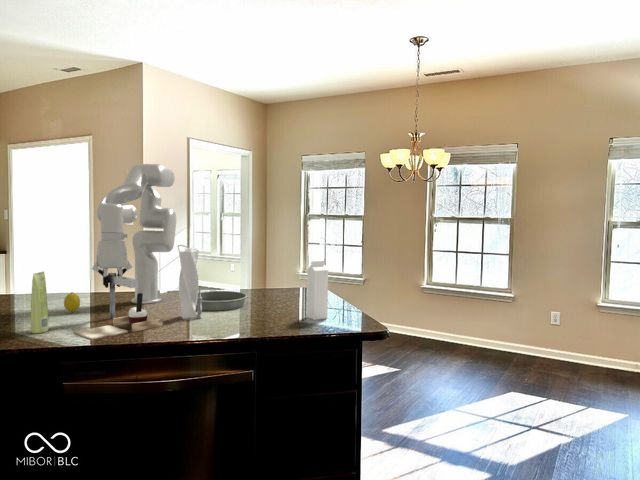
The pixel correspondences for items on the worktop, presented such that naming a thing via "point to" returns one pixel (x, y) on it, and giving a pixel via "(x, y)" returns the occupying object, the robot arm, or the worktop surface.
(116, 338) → the worktop surface
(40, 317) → the tube
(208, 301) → the cake pan
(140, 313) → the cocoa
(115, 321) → the holder
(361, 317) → the worktop surface
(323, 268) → the milk
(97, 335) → the pad
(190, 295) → the skyscraper
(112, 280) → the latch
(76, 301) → the lemon
